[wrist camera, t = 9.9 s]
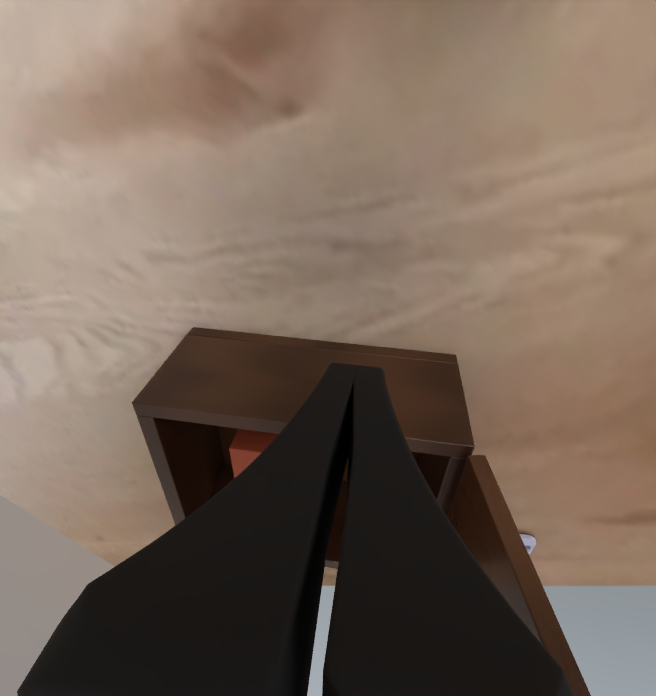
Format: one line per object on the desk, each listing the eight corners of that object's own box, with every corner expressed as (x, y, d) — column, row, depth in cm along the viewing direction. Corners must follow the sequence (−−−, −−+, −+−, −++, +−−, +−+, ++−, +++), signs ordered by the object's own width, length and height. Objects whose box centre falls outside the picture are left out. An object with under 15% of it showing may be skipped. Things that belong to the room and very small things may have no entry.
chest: (220, 460, 29) (181, 543, 24) (192, 326, 22) (131, 402, 17) (420, 488, 27) (425, 583, 22) (456, 354, 21) (474, 446, 16)
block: (326, 450, 25) (313, 512, 22) (260, 441, 26) (237, 500, 22) (327, 399, 23) (314, 460, 19) (254, 390, 23) (228, 448, 20)
